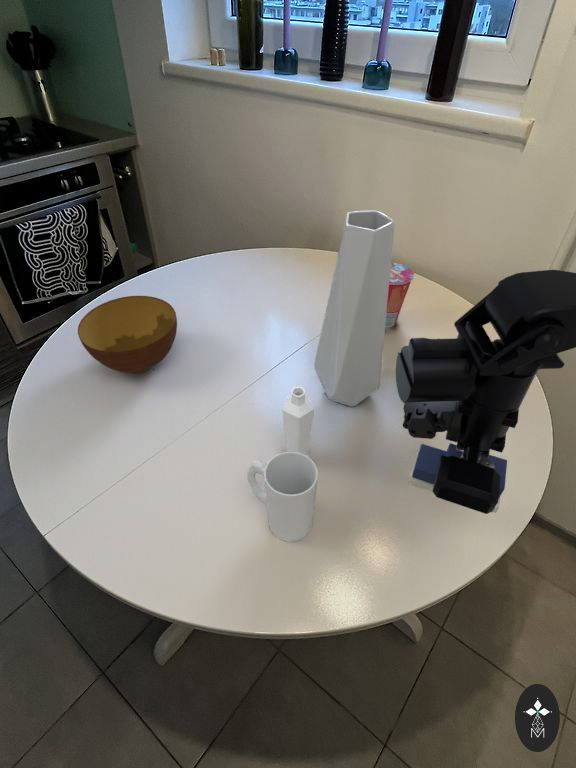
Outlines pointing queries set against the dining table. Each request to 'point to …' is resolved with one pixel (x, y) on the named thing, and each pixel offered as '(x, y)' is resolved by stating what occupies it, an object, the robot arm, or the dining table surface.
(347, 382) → the vase
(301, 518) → the mug
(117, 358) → the bowl
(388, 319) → the cup
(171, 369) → the dining table surface
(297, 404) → the perfume bottle
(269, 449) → the dining table surface
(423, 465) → the blue stepped block
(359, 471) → the dining table surface
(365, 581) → the dining table surface
